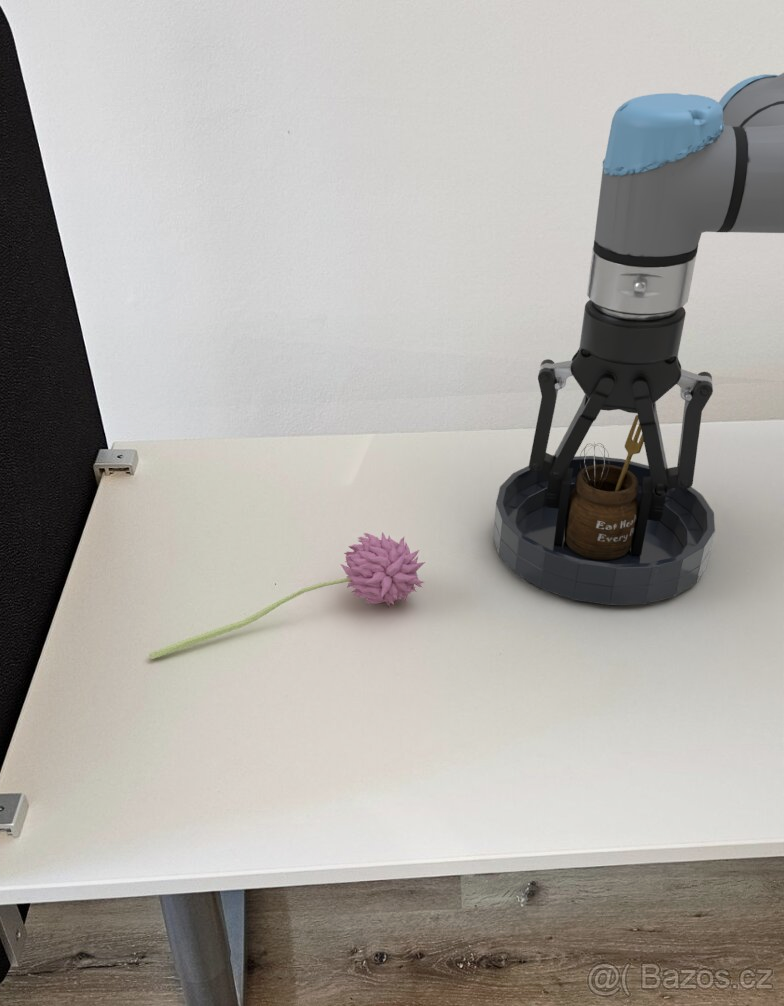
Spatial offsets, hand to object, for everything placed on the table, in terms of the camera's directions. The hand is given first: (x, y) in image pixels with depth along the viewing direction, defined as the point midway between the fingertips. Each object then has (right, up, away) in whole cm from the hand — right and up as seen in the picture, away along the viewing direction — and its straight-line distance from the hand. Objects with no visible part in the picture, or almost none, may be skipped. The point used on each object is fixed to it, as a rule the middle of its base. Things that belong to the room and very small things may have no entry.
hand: (597, 540), depth 98 cm
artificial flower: (-29, -7, -5) cm, 30 cm away
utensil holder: (0, 0, 0) cm, 0 cm away
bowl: (0, -1, 0) cm, 1 cm away
